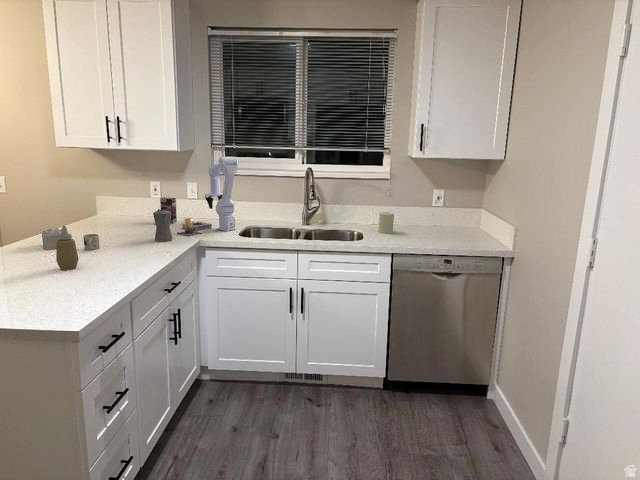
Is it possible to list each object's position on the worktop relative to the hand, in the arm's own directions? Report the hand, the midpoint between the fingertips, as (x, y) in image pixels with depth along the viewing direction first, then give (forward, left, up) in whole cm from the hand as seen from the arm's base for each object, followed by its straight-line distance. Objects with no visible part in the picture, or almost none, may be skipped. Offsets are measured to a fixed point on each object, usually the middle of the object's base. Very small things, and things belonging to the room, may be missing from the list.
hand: (215, 207), depth 282 cm
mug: (-8, +82, -11) cm, 83 cm away
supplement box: (+24, +18, -11) cm, 32 cm away
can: (-90, -57, -11) cm, 107 cm away
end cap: (-11, +28, -10) cm, 32 cm away
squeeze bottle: (-32, +103, -11) cm, 108 cm away
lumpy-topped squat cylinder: (+10, +91, -11) cm, 92 cm away
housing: (-2, +16, -10) cm, 19 cm away
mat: (-11, +28, -10) cm, 32 cm away
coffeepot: (-14, +47, -11) cm, 50 cm away
